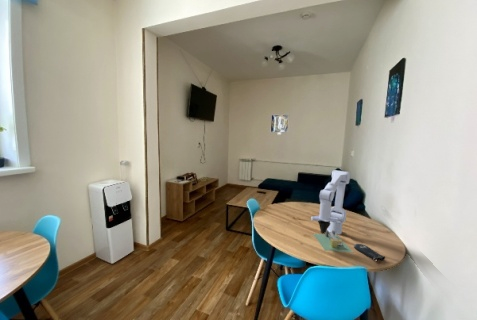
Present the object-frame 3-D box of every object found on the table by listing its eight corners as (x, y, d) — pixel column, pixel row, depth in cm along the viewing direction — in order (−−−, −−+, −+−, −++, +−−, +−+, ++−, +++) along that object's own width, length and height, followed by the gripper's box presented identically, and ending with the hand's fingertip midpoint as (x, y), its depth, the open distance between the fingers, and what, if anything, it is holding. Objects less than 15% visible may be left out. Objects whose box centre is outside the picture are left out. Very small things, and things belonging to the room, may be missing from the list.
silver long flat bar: (327, 233, 130) (328, 231, 130) (331, 233, 130) (331, 232, 130) (338, 244, 115) (338, 243, 115) (342, 245, 115) (342, 243, 115)
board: (312, 235, 132) (313, 228, 132) (337, 237, 132) (338, 229, 131) (324, 252, 113) (325, 244, 112) (353, 254, 112) (354, 246, 111)
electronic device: (385, 263, 108) (361, 245, 122) (387, 254, 107) (362, 237, 121) (372, 267, 106) (349, 248, 120) (373, 259, 104) (350, 241, 118)
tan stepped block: (329, 244, 119) (330, 238, 118) (340, 245, 118) (340, 239, 118) (331, 247, 116) (332, 241, 115) (342, 248, 115) (343, 241, 115)
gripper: (314, 212, 111) (312, 235, 113) (341, 213, 111) (338, 237, 112) (310, 207, 118) (308, 229, 120) (335, 209, 118) (333, 231, 119)
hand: (322, 232), depth 117 cm, fingers closed
